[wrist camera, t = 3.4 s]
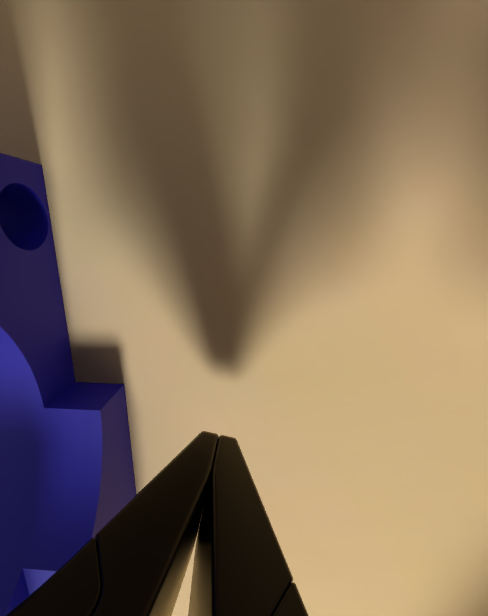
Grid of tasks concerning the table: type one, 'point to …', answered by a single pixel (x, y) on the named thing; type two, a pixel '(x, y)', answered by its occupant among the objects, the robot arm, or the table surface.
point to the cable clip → (47, 406)
